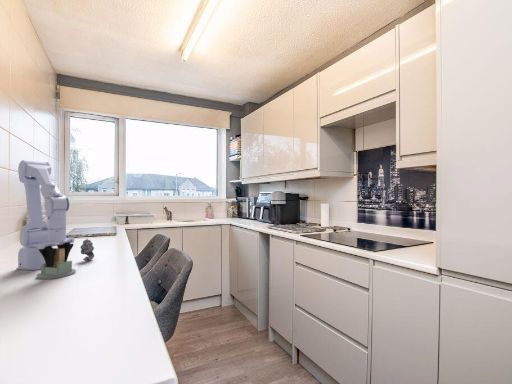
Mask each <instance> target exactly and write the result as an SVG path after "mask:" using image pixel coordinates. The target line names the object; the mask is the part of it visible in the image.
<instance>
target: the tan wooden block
mask: <svg viewBox="0 0 512 384" xmlns="http://www.w3.org/2000/svg"><path fill="white" fill-rule="evenodd" d="M56 248H57V250H56V252H55V256H54V265H53V268H57V264H59V263H63V262H65V248H58V247H56Z"/></svg>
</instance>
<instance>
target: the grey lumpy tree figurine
mask: <svg viewBox="0 0 512 384" xmlns="http://www.w3.org/2000/svg"><path fill="white" fill-rule="evenodd" d="M79 248H80V254H81V255H86V256H85V257H84V258H83V259H82V260H83V261H85V262H88V261H92V260H93V259H94V258H95V253H94V252H93V251H94V250H95V247H94V246H93V242H92V240H91V239H88V238H86V239H84V240H83V241H82V245H81V244H80V247H79Z"/></svg>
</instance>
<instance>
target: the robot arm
mask: <svg viewBox="0 0 512 384" xmlns="http://www.w3.org/2000/svg"><path fill="white" fill-rule="evenodd" d="M17 171H18V178H19V182H21V183H22V184H24V189H25V200H26V212H27V221H28V222H27V223H26V224H24V225H23V226H22V227H21V228H20V230H19V231H20V233H19V234H20V235H19V243H20V245H21V248H19V250H18V252H17V253H18V254H17V260H18V261H17V267H15V269H16V270H27V271H28V270H29V271H30V270H31V271H37V270H41V264H42V263H46V266H47V267H53V265H54V256H55V252H56V250H57V248H65V262H66V261H68V258H69V255H70V252H71V250H72V249H73V247H74V243H75V237H67V212H68V211H69V209H70V201H69V198H68V197H67V196H65V195H64V194H62V193H61V191H60V188H59V187H58V185H57V184H55V183H53V181H52V179H51V174H52V165H51V164H50V162H48V161H47V162H46V161H45V162H44V161H32V160H31V161H30V160H24V159H22V160H20V162H19V164H18V168H17ZM41 196H42V197H43V199H44V210H45V217H47V222H46V221H44V219H43V218H44V217H43V206H42V198H41Z"/></svg>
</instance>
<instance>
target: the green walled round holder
mask: <svg viewBox="0 0 512 384" xmlns="http://www.w3.org/2000/svg"><path fill="white" fill-rule="evenodd" d="M74 274H76V269H74V268H73V260H67V261H66V262H63V263H59V264H57V268H53V267H47V266H46V263H42V264H41V269H40V273H37V274H36V279H38V280H51V279H52V280H53V279H60V278H64V277H69V276H71V275H72V276H73V275H74Z"/></svg>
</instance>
